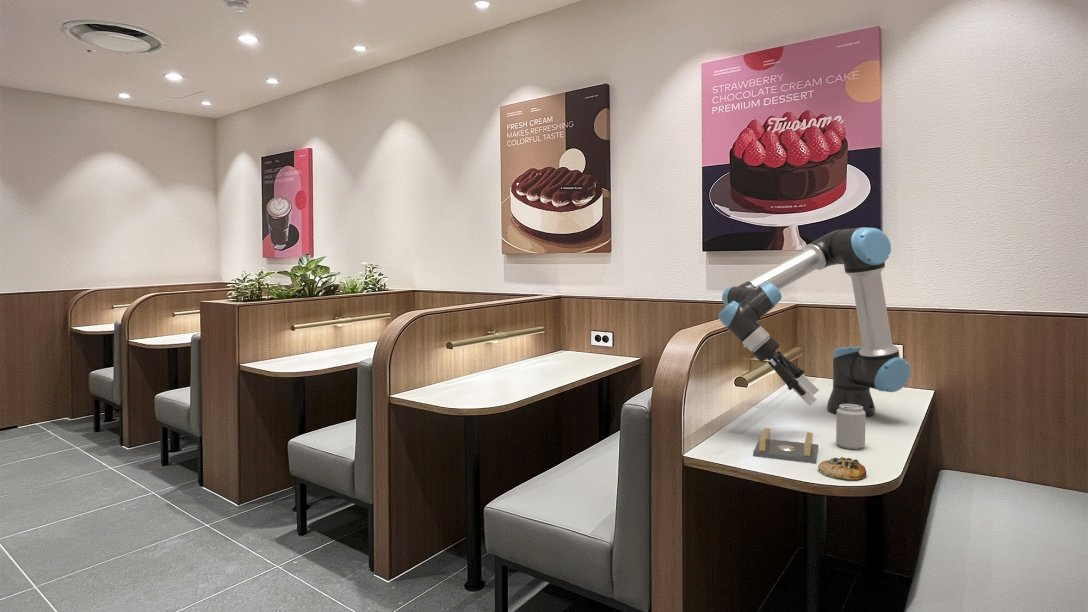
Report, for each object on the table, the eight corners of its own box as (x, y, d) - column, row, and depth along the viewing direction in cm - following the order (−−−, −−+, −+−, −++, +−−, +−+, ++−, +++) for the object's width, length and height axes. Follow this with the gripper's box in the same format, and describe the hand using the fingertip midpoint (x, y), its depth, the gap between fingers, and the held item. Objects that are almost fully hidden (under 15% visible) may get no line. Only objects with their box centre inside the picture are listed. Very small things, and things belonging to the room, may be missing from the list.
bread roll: (860, 467, 161) (860, 449, 160) (872, 488, 151) (872, 469, 150) (814, 466, 164) (814, 448, 163) (823, 486, 153) (823, 468, 152)
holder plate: (753, 455, 172) (753, 439, 171) (759, 442, 184) (759, 426, 184) (815, 463, 164) (816, 446, 164) (818, 448, 177) (818, 432, 177)
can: (830, 443, 182) (831, 403, 181) (855, 442, 182) (855, 402, 182) (845, 451, 174) (846, 409, 173) (870, 449, 175) (871, 408, 174)
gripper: (757, 347, 199) (807, 397, 194) (745, 359, 177) (801, 415, 172) (775, 331, 197) (826, 381, 191) (765, 341, 174) (822, 398, 169)
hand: (814, 397), depth 181 cm, fingers open, 13 cm apart
